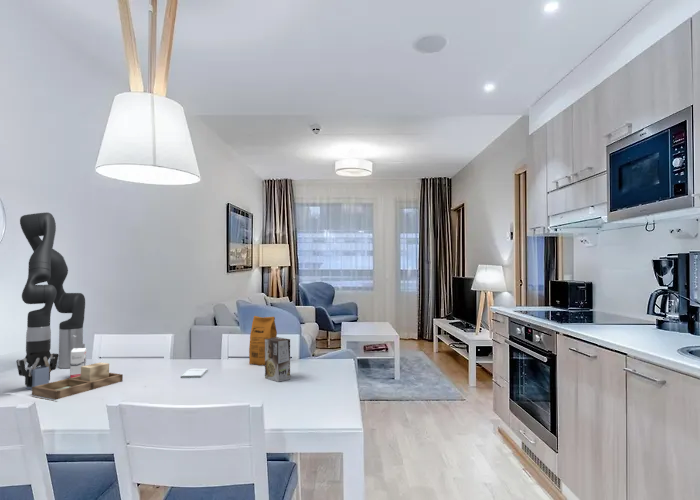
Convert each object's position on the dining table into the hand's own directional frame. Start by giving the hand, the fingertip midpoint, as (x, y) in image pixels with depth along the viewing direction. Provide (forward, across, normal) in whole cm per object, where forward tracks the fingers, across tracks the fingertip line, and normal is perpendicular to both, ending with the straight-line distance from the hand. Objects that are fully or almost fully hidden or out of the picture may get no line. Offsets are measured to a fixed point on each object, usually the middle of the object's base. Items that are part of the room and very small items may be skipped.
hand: (37, 384), depth 165 cm
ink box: (+2, -17, -2) cm, 17 cm away
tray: (+2, -6, +14) cm, 16 cm away
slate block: (+2, 0, 0) cm, 2 cm away
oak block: (+1, -13, +14) cm, 19 cm away
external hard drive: (+3, -42, +36) cm, 55 cm away
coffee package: (+2, -71, +50) cm, 87 cm away
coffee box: (+2, -50, +72) cm, 88 cm away
